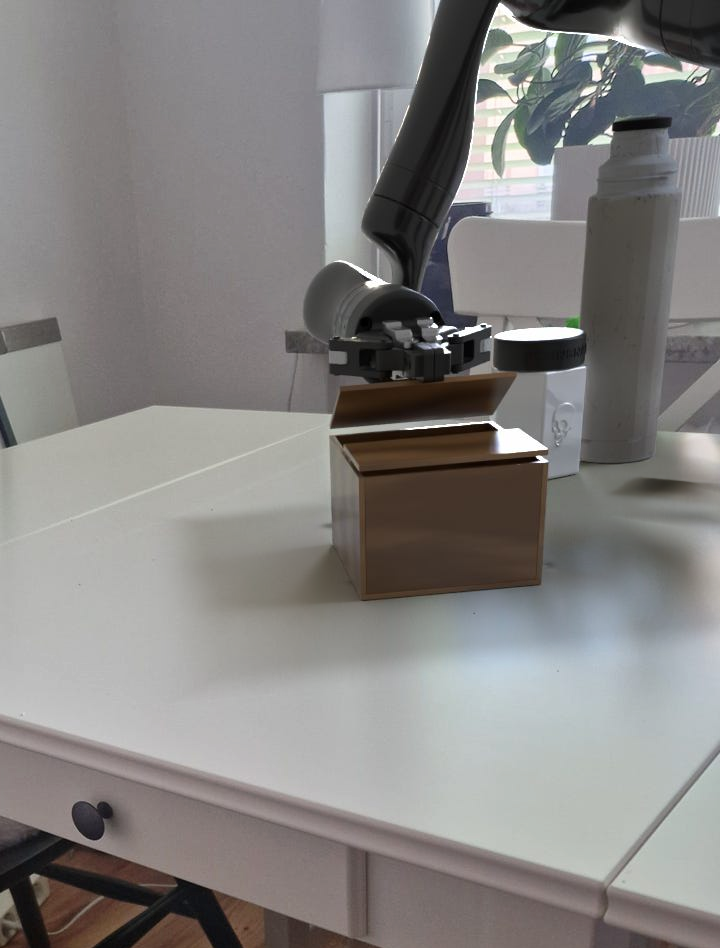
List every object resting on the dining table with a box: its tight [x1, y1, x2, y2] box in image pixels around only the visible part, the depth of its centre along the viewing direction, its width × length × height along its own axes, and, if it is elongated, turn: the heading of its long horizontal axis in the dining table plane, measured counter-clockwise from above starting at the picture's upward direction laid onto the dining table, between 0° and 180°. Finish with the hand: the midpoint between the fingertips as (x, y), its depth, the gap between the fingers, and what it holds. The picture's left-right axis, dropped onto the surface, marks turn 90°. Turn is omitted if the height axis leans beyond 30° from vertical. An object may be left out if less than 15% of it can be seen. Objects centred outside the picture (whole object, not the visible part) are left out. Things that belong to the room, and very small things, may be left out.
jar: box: [489, 327, 587, 481], centre depth 107 cm, size 9×8×12 cm
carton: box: [328, 420, 549, 601], centre depth 86 cm, size 15×13×9 cm
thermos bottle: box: [579, 115, 683, 464], centre depth 107 cm, size 8×8×28 cm
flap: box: [329, 371, 517, 430], centre depth 86 cm, size 7×13×1 cm
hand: (434, 366), depth 80 cm, fingers closed
